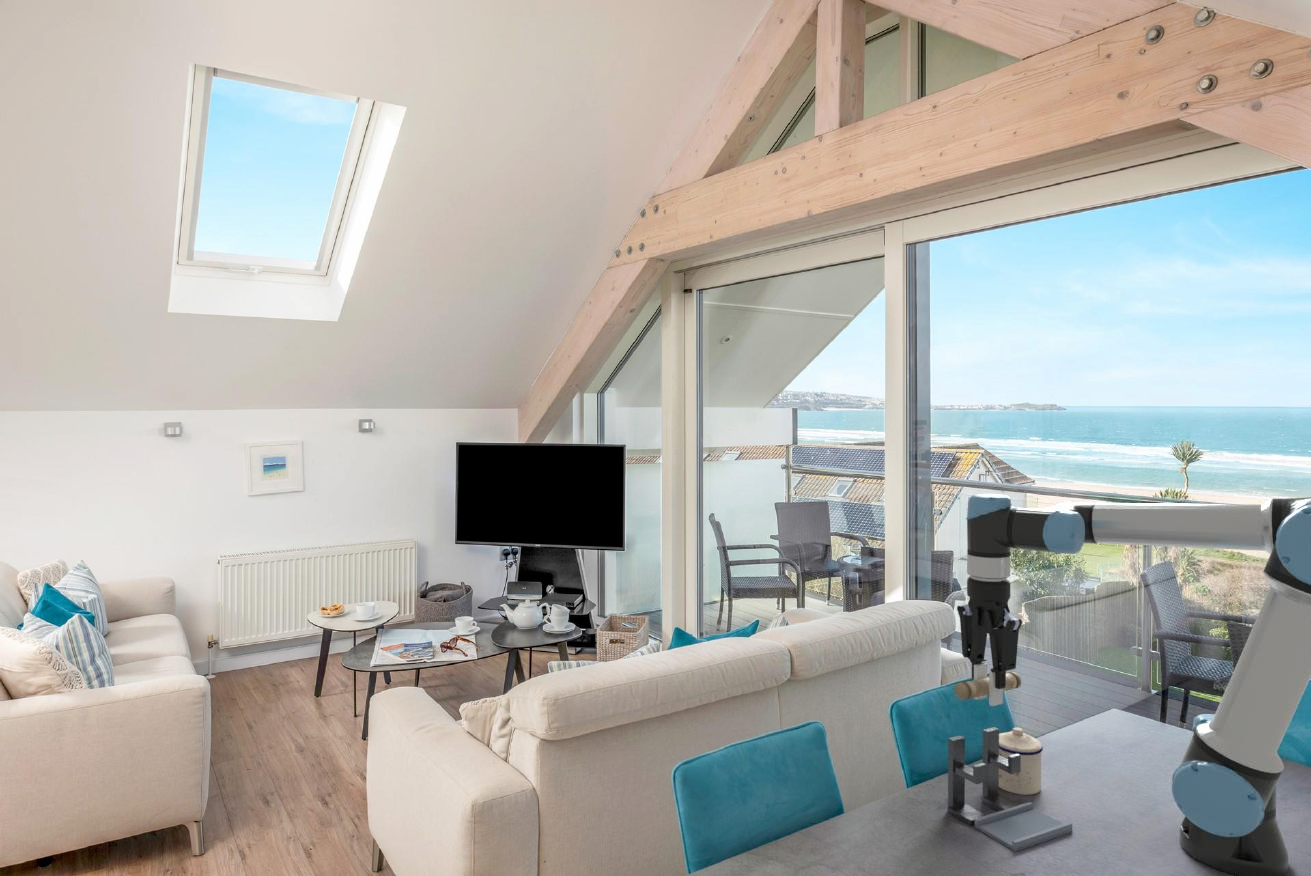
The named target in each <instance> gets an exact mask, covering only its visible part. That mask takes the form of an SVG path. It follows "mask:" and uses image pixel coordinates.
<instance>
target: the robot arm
mask: <svg viewBox="0 0 1311 876" xmlns="http://www.w3.org/2000/svg"><path fill="white" fill-rule="evenodd" d="M965 519H966V531H967V532H966V535H967V541H966V543H967V551H966V552H967V553H966V555H967V556H966V557H967V558H966V560H967V561H966V573H967V575H969V576H968V577H967V578H966V594H967V596H968V597H969V599H968V602H967V603H966V604H963V605H962V604H961V605H958V606H957V607H956V610H957V613H958V616H959V622H960V635H961V636H960V637H961V653H962V657H964V658H965V659H966V658H967V659H968V660H969V662H970V663H971V679H972V680H977V679H982V678H987V677H989V695H984V696H980V697H975V698H973V699H974V700H977V701H978V700H984V699H987V698H988V702H989V703H988V704H989V706H991V707H996V706H1000V705H1003V704H1004V691H1003V688H1005V686H1006V673H1007V672H1009V671H1011V670H1012V671H1013V670H1015V669H1016V667H1017V654H1018V646H1019V634H1020V632H1019V631H1020V629H1021V627H1022V624H1023V620H1022V619H1021V618H1020V617H1017V618H1016V617H1015V616H1014V615H1012V614H1011V611H1010V608H1009V600H1010V599H1011V580H1010V579H1009V577H1011V553H1012V552H1011V549H1015V550H1018V549H1020V550H1027V551H1028V550H1029V551H1037V552H1043V553H1044V552H1045V553H1054V555H1060V554H1070V555H1076V554H1078V553H1080V551H1081V550H1082V547H1083V546H1084V544H1102V545H1103V544H1104V545H1105V544H1106V545H1107V544H1108V545H1109V544H1110V545H1127V546H1130V545H1131V546H1151V547H1170V548H1171V547H1172V548H1173V547H1174V548H1192V549H1193V548H1195V549H1198V548H1200V549H1215V550H1216V549H1220V550H1221V549H1222V550H1239V551H1263V552H1266V553H1268V554H1269V557H1268V560H1267V562H1266V565H1265V566H1264V570H1263V572H1262V574H1263V575H1264V577H1265V578H1266V580H1267V582H1268V584H1269V589H1268V591H1267V594H1266V596H1265V598H1264V601H1263V603H1262V605H1261V607H1260V610H1259V612H1258V614H1257V616H1256V619H1255V621H1254V624H1253V626H1252V628H1251V631H1250V633H1249V634H1248V636H1247V637H1248V638H1247V639H1246V642H1245V645H1244V647H1243V649H1242V651H1241V654H1240V656H1239V658H1238V661H1237V663H1236V665H1235V668H1234V669H1233V672H1232V674H1231V677H1230V679H1229V681H1228V684H1227V686H1226V689H1225V691H1224V692H1223V695H1222V698H1221V699H1220V703H1219V704H1218V707H1217V709H1216V711H1215V713H1202V714H1198V715H1197V716H1195V717H1194V719H1193V724H1192V727H1191V730H1192V733H1193V735H1192V737H1191V739H1190V742H1189V744H1188V747H1187V748H1186V751H1185V753H1184V755H1183V758H1182V760H1181V762H1180V764H1179V766H1178V767H1177V768H1175V770H1174V772H1173V774H1172V778H1171V793H1172V796H1173V801H1174V802H1175V803H1176V805H1177V807H1178V809H1179V810H1180V812H1181V813H1182V814H1183V816H1184V817H1183V819H1182V822H1181V824H1180V827H1179V844H1180V847H1182V849H1183V850H1184V851H1185V852H1186V853H1187V854H1188V855H1190V856H1191V857H1193V858H1194V859H1195V860H1198V861H1199V862H1201V863H1203V864H1205V865H1207V866H1210V867H1211V868H1215V869H1217V870H1219V871H1222V872H1226V873H1229V874H1232V875H1236V876H1284V875H1286V874H1287V872H1288V871H1289V852H1288V849H1287V847H1286V844H1285V841H1284V838H1283V835H1282V832H1281V830H1280V827H1279V824H1278V821H1277V784H1278V781H1279V779H1280V777H1281V775H1282V772H1283V770H1284V767H1285V765H1284V763H1283V761H1282V758H1281V757H1280V756H1279V753H1278V750H1279V749H1280V745H1281V743H1282V741H1283V739H1284V736H1285V735H1286V732H1287V730H1288V728H1289V726H1290V723H1291V722H1292V719H1293V717H1294V715H1295V713H1296V710H1297V709H1298V706H1299V704H1300V702H1301V700H1302V697H1303V695H1304V693H1305V690H1306V688H1307V686H1308V684H1309V682H1310V680H1311V496H1308V497H1295V498H1294V497H1292V498H1290V497H1289V498H1271V499H1269V500H1268V501H1266V502H1265V503H1264V504H1245V503H1243V504H1238V503H1237V504H1228V503H1227V504H1225V503H1223V504H1221V503H1217V504H1216V503H1210V504H1209V503H1139V502H1137V503H1131V502H1125V503H1123V502H1122V503H1121V502H1119V503H1118V502H1117V503H1116V502H1096V503H1094V502H1081V501H1078V500H1067V501H1062V502H1059V503H1056V504H1055V505H1051V506H1049V507H1048V506H1047V507H1045V508H1044V507H1043V508H1027V507H1017V506H1013V505H1012V501H1011V497H1010V496H1008V495H1005V494H999V493H997V494H996V493H980V494H979V493H977V494H974V495H971V496H970V497H969V498H968V501H967V513H966V518H965ZM988 635H989V636H988ZM988 637H989V645H990V652H991V662H992V668H990V669H989V671H988V663H986V661H988V660H987V658H986V657H985V655H986V645H987V638H988ZM988 672H989V673H988Z"/></svg>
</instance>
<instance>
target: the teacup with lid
mask: <svg viewBox="0 0 1311 876" xmlns="http://www.w3.org/2000/svg"><path fill="white" fill-rule="evenodd" d="M1043 749H1044V748H1043V744H1042V743H1041V742H1040V740H1038V739H1037V738H1035V737H1033V736H1031V735H1029V734H1026V733H1025V732H1024V730H1023V729H1022V728H1021V727H1013V728H1012V730H1010V731H1008V732H1007V731H1006V732H1002V733H1001V732H1000V733H999V756H1001V757H1004V758H1006V759H1008V756H1010V755H1013V754H1019V755H1021V772H1018V773H1014V774H1010V773H1008V772H1006V771H1004V770H1002V769H1000V768H999V789H1001V790H1003V791H1006V792H1008V793H1010V794H1015V795H1021V796H1030V795H1035V794H1038V793H1039V792H1040V791H1041V790H1042V751H1043Z"/></svg>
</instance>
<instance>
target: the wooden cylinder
mask: <svg viewBox="0 0 1311 876" xmlns="http://www.w3.org/2000/svg"><path fill="white" fill-rule="evenodd" d="M1021 686H1022V679H1021V676H1020V675H1019V674H1018V673H1017V672H1014V671H1007V672H1006V686H1005V688H1003V692H1006V691H1010V690H1015V689H1018V688H1020V687H1021ZM953 690H954V695H956V697H957V699H959V700H960V701H965V700H971V699H974V698H975V697H980V696H984V695H987V696H989V676H987V678H982V679H977V680H973V679H972V680H968V681H962V682H957V683H956V684H955V686H954V689H953Z"/></svg>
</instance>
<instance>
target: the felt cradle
mask: <svg viewBox="0 0 1311 876" xmlns="http://www.w3.org/2000/svg"><path fill="white" fill-rule="evenodd" d="M985 815H986V816H983V817H980V818H977V819H975V825H974V828H976V829H977V830H978V831H980V832H982V833H984V834H985V835H987V836H989V838H992V839H994V840H996V841H997V842H999V843H1000V844H1002V845H1004V846H1006V847H1007V848H1008V849H1011V850H1012V851H1015V852H1018V851H1021V850H1023V849H1026V848H1029V847H1033V846H1035V845H1037V844H1041V843H1044V842H1047V841H1050V840H1053V839H1055V838H1058V837H1061V836H1064V835H1068V834H1069V833H1072V832H1073V823H1072V822H1070V821H1068V822H1064V823H1063V822H1061V821H1059V820H1057V819H1055V818H1053V817H1051V816H1049V815H1047V814H1046V813H1043V812H1041V811H1040V810H1037V809H1036V808H1034V803H1033V802H1031V801H1028V802H1025V803H1021V804H1020V805H1018V806H1015V807H1012V808H1009V809H1006V810H1002V811H997V812H993V813H991V814H985Z"/></svg>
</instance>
